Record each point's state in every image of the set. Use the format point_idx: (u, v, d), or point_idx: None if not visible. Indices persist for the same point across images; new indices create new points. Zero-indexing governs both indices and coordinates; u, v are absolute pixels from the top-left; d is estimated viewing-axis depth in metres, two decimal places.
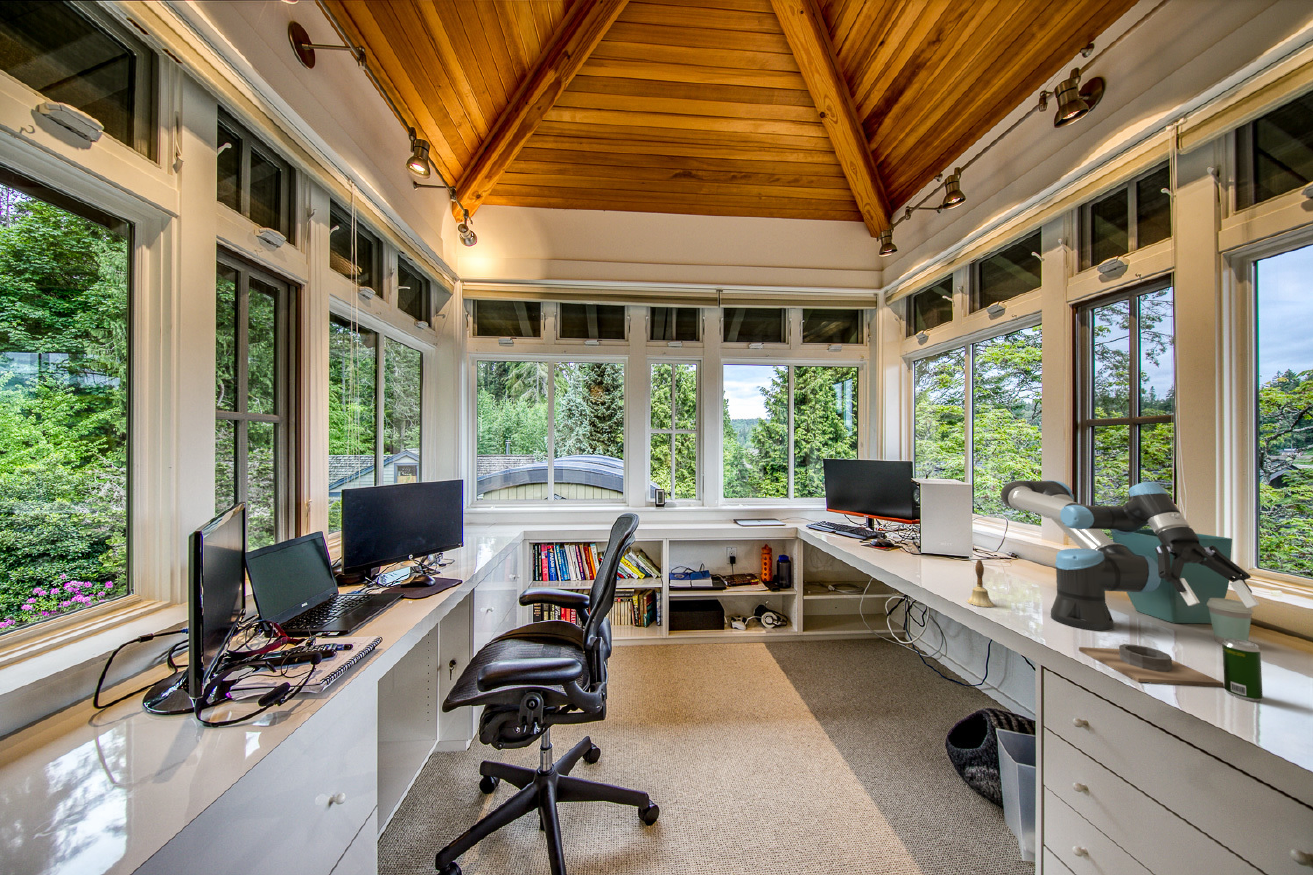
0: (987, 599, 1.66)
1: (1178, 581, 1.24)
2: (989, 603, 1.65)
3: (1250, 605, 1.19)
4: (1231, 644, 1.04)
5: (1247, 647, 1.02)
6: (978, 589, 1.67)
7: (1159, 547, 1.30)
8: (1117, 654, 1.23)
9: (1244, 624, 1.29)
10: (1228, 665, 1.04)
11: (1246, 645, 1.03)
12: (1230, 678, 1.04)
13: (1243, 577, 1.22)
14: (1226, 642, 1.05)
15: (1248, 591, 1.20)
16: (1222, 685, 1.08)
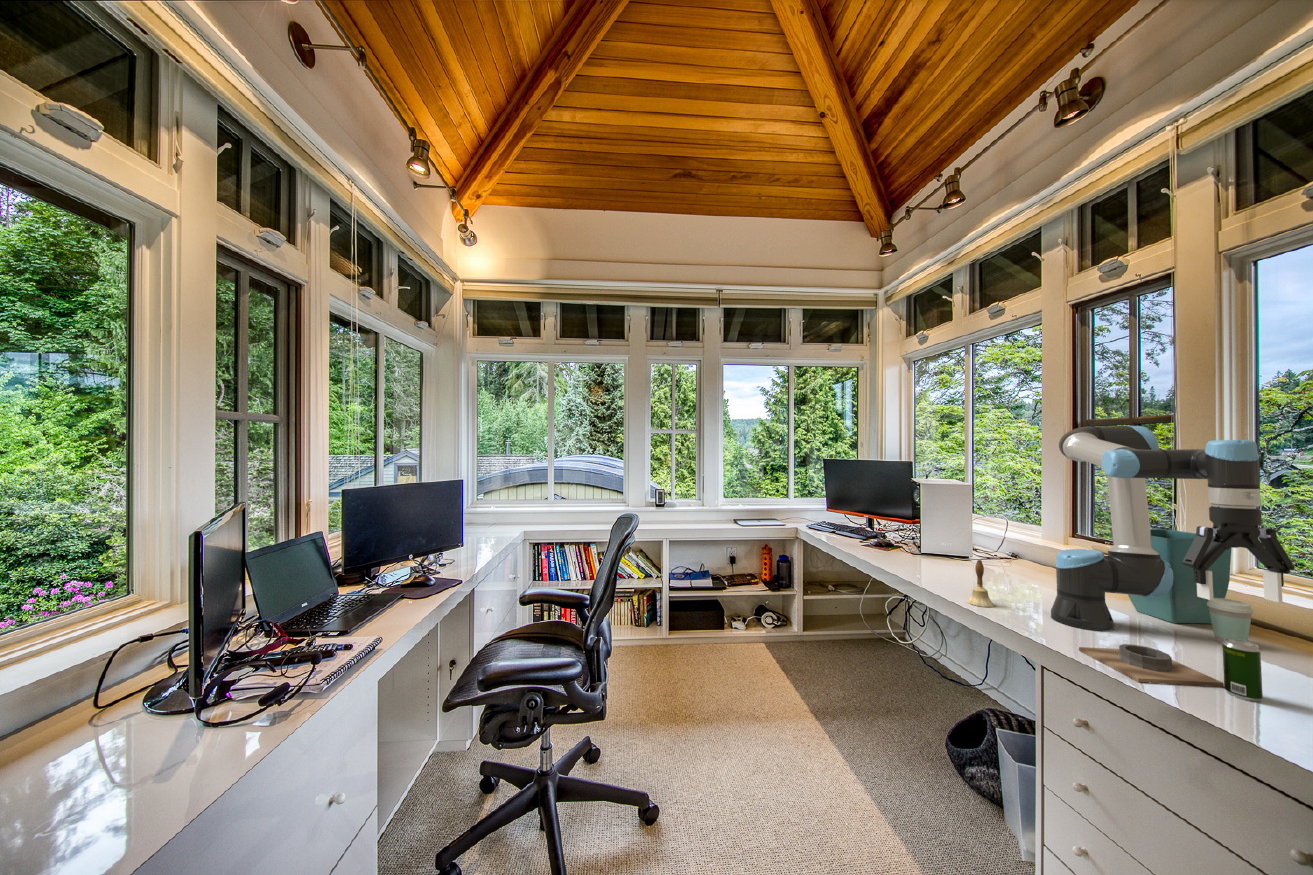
0: (987, 599, 1.66)
1: (1202, 573, 1.05)
2: (989, 603, 1.65)
3: (1270, 599, 1.04)
4: (1231, 644, 1.04)
5: (1247, 647, 1.02)
6: (978, 589, 1.67)
7: (1204, 529, 1.06)
8: (1117, 654, 1.23)
9: (1244, 624, 1.29)
10: (1228, 665, 1.04)
11: (1246, 645, 1.03)
12: (1230, 678, 1.04)
13: (1284, 571, 1.02)
14: (1226, 642, 1.05)
15: (1279, 587, 1.03)
16: (1222, 685, 1.08)
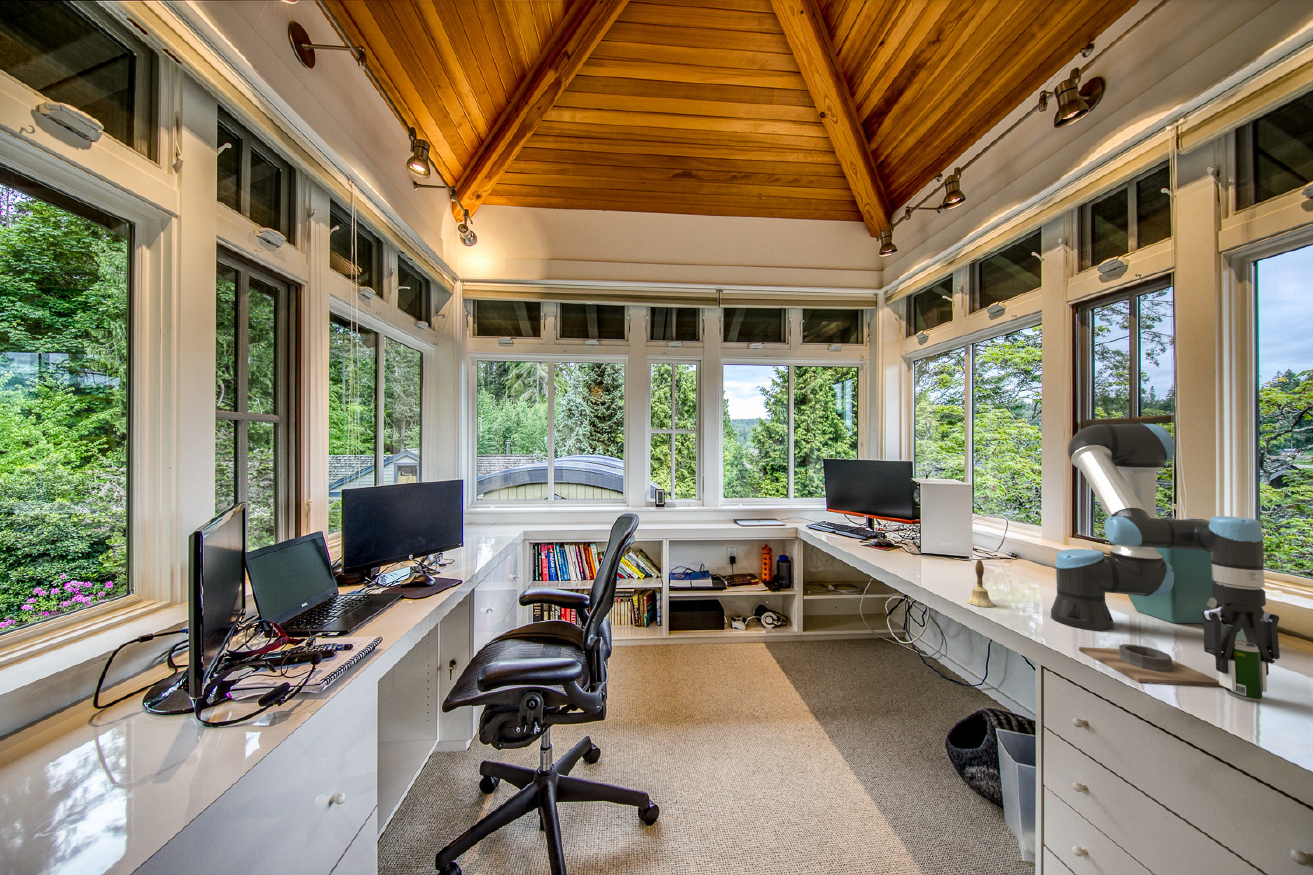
0: (987, 599, 1.66)
1: (1225, 662, 1.04)
2: (989, 603, 1.65)
3: None
4: None
5: (1247, 647, 1.02)
6: (978, 589, 1.67)
7: (1208, 615, 1.05)
8: (1117, 654, 1.23)
9: None
10: None
11: (1246, 645, 1.03)
12: None
13: (1269, 660, 1.02)
14: None
15: (1264, 676, 1.02)
16: None
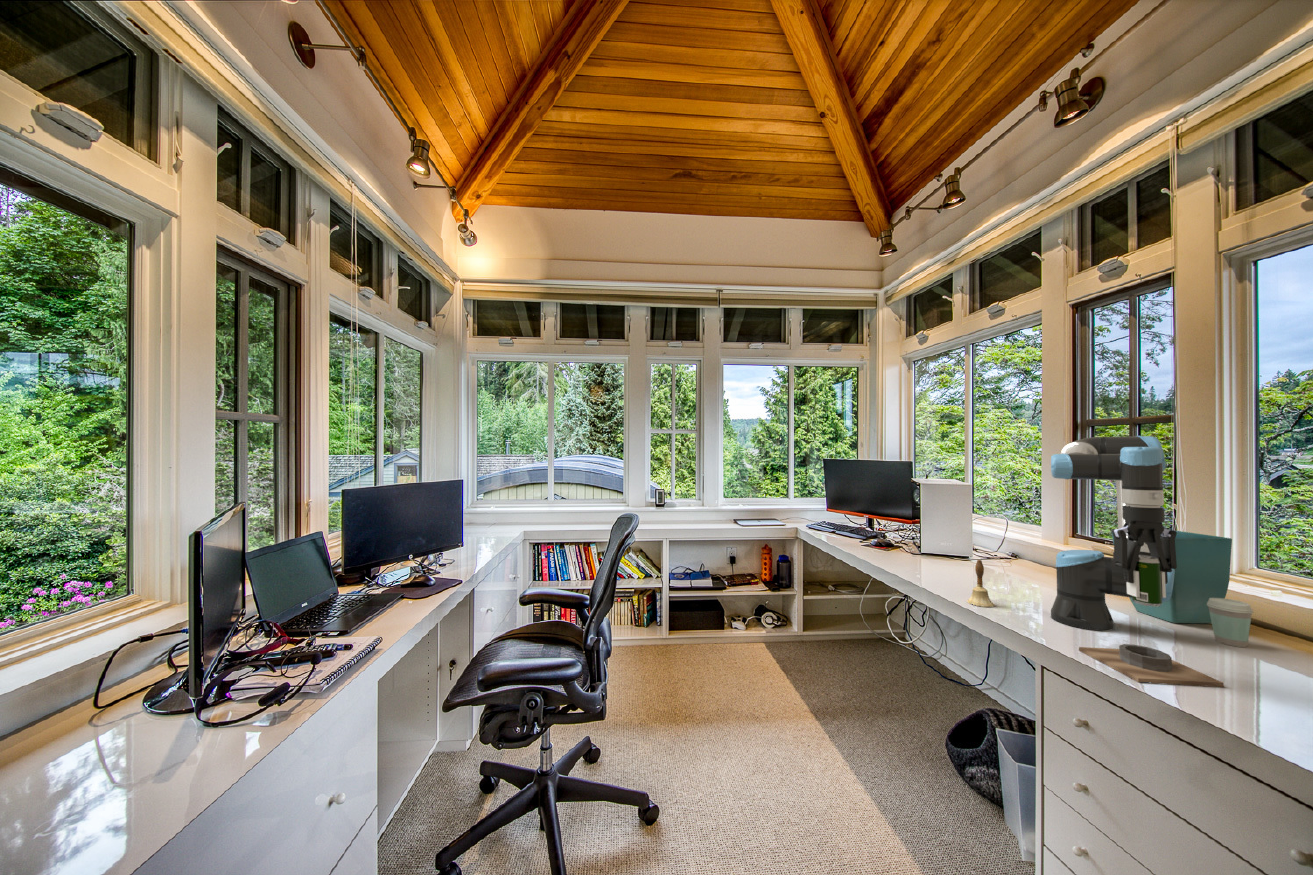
0: (987, 599, 1.66)
1: (1130, 573, 1.18)
2: (989, 603, 1.65)
3: None
4: None
5: (1149, 559, 1.16)
6: (978, 589, 1.67)
7: (1117, 532, 1.19)
8: (1117, 654, 1.23)
9: (1244, 624, 1.29)
10: None
11: (1148, 558, 1.17)
12: None
13: (1168, 569, 1.16)
14: None
15: (1163, 584, 1.17)
16: (1222, 685, 1.08)
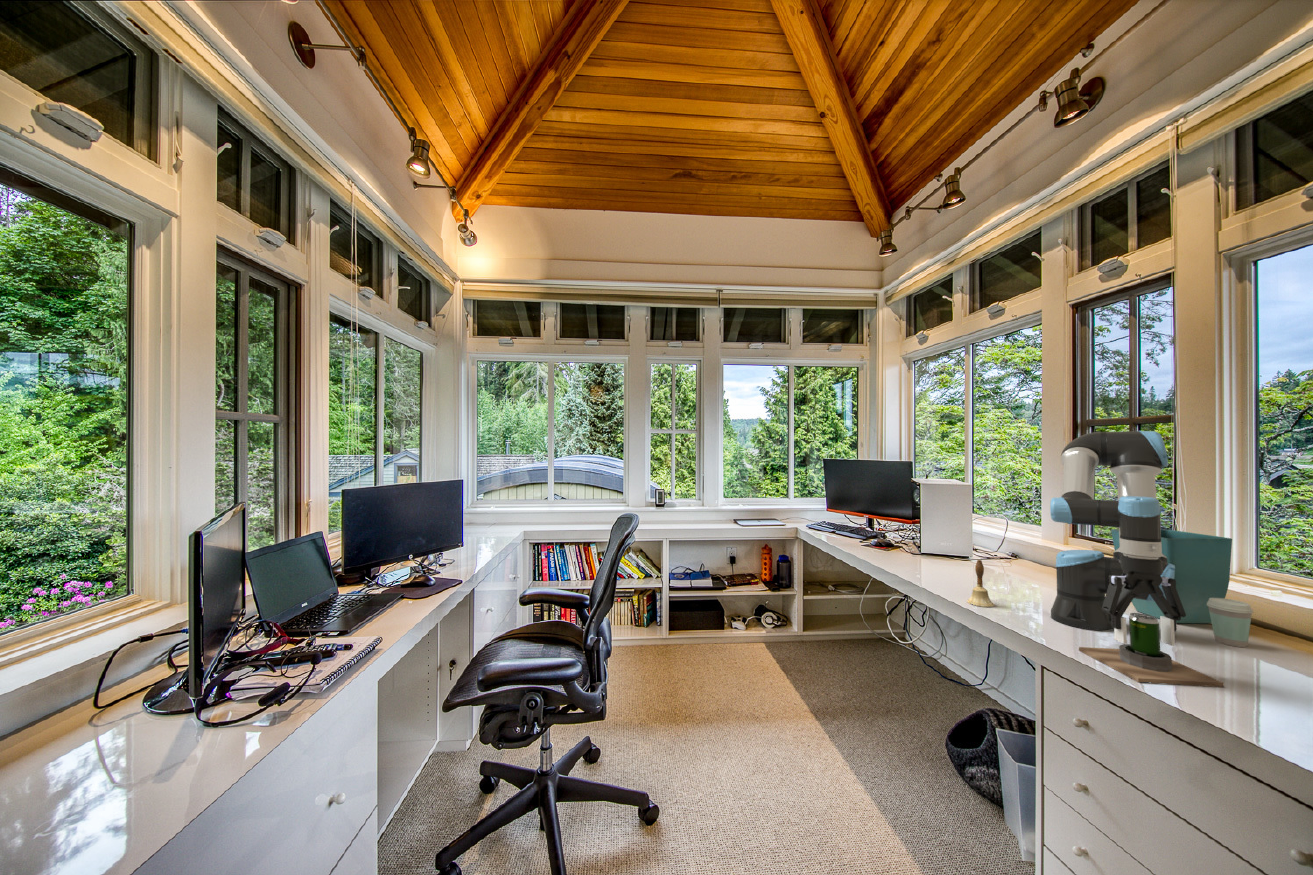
0: (987, 599, 1.66)
1: (1118, 619, 1.18)
2: (989, 603, 1.65)
3: (1165, 642, 1.18)
4: (1135, 617, 1.18)
5: (1148, 620, 1.16)
6: (978, 589, 1.67)
7: (1114, 579, 1.19)
8: (1117, 654, 1.23)
9: (1244, 624, 1.29)
10: (1133, 636, 1.18)
11: (1147, 618, 1.17)
12: (1135, 647, 1.18)
13: (1177, 618, 1.16)
14: (1131, 616, 1.19)
15: (1172, 632, 1.16)
16: (1222, 685, 1.08)
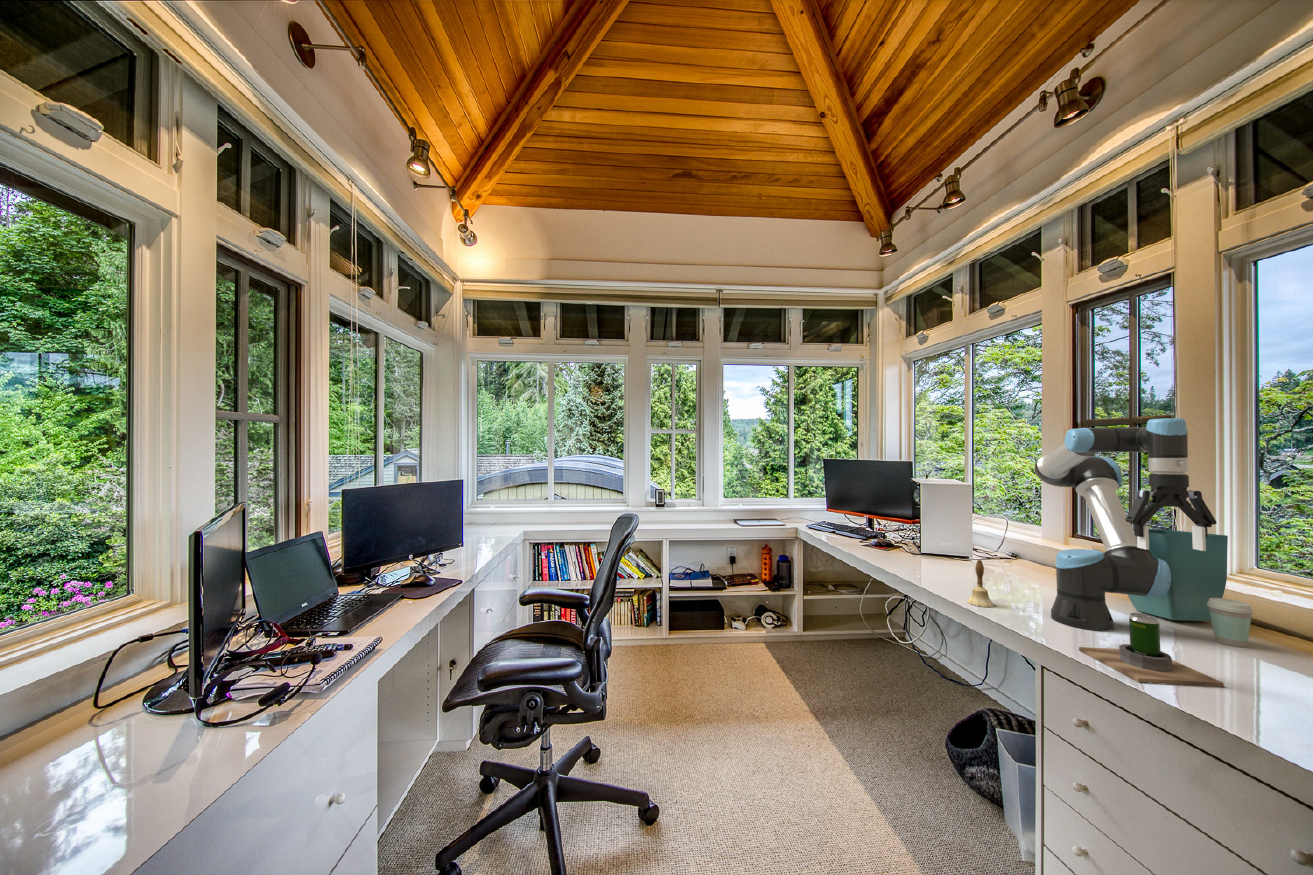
0: (987, 599, 1.66)
1: (1140, 528, 1.28)
2: (989, 603, 1.65)
3: (1197, 548, 1.27)
4: (1135, 617, 1.18)
5: (1148, 620, 1.16)
6: (978, 589, 1.67)
7: (1142, 492, 1.28)
8: (1117, 654, 1.23)
9: (1244, 624, 1.29)
10: (1133, 636, 1.18)
11: (1147, 618, 1.17)
12: (1135, 647, 1.18)
13: (1208, 525, 1.25)
14: (1131, 616, 1.19)
15: (1203, 538, 1.25)
16: (1222, 685, 1.08)
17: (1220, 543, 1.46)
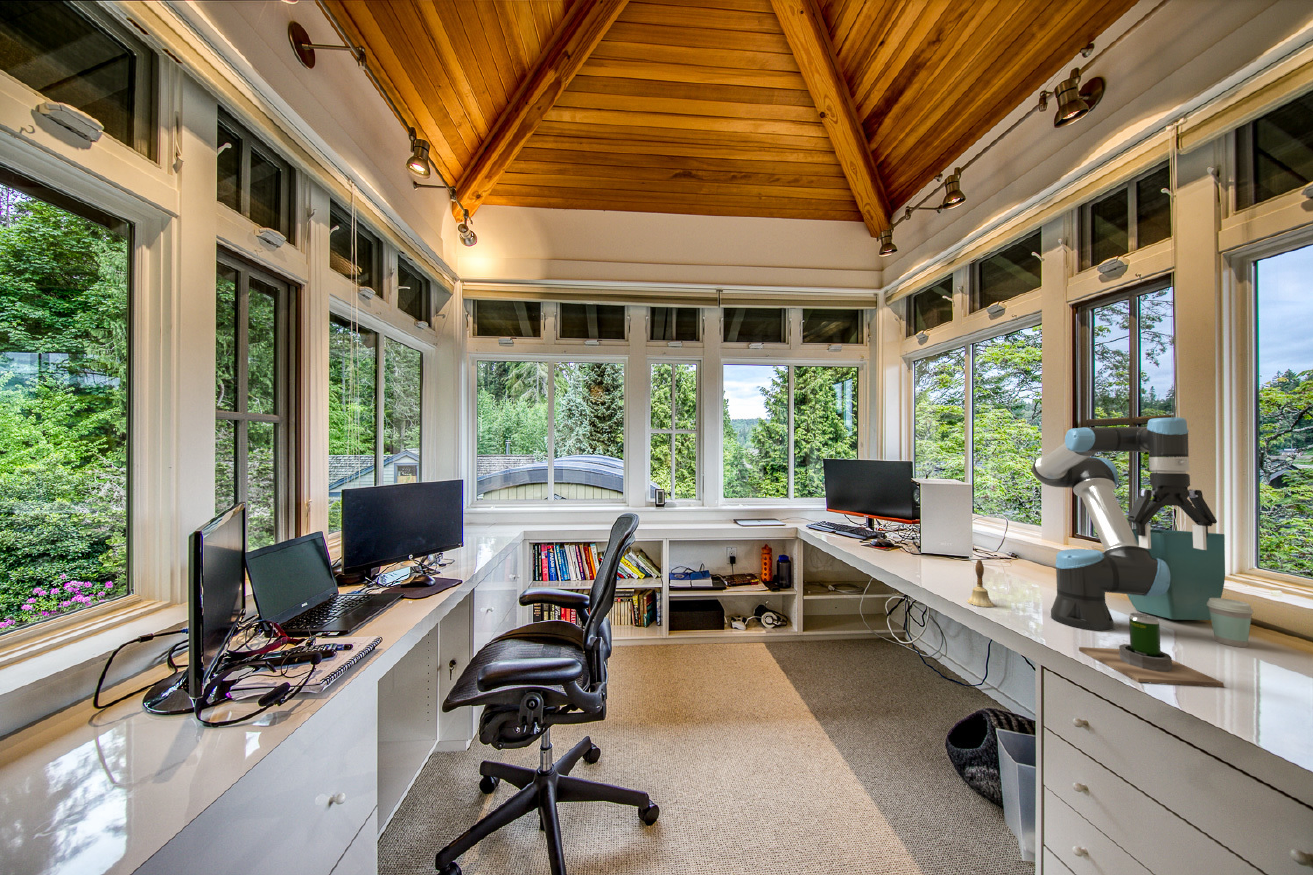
0: (987, 599, 1.66)
1: (1142, 527, 1.28)
2: (989, 603, 1.65)
3: (1197, 547, 1.27)
4: (1135, 618, 1.18)
5: (1148, 620, 1.16)
6: (978, 589, 1.67)
7: (1144, 491, 1.29)
8: (1117, 654, 1.23)
9: (1244, 624, 1.29)
10: (1133, 637, 1.18)
11: (1147, 618, 1.17)
12: (1135, 648, 1.18)
13: (1208, 524, 1.25)
14: (1132, 616, 1.19)
15: (1204, 537, 1.26)
16: (1222, 685, 1.08)
17: (1217, 542, 1.47)
